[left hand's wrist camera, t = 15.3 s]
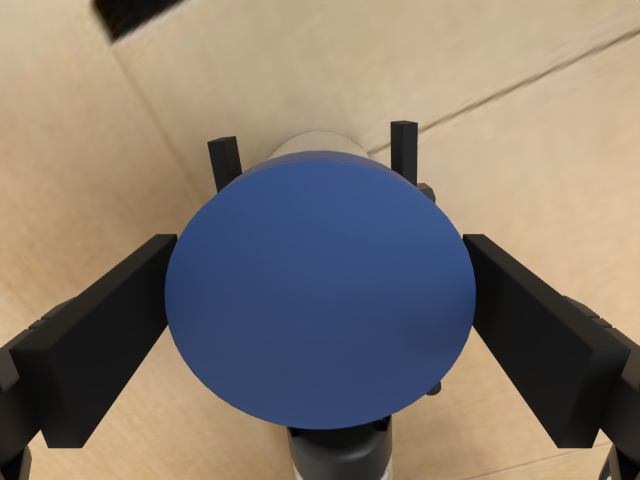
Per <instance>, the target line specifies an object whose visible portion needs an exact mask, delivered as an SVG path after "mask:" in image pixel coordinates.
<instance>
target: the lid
mask: <svg viewBox="0 0 640 480" xmlns="http://www.w3.org/2000/svg"><path fill="white" fill-rule="evenodd" d="M164 295H165V310H166V316H167V320H168V325H169V329H170V332H171V334H172V337H173V340H174V342H175V345H176V347H177V349H178V350H179V352H180V354H181V356H182V358H183V360H184V361H185V362H186V364H187V365H188V366H189V368H190V369H191V371H192V372H193V373H194V374H195V375H196V376H197V378H198V379H199V380H200V381H201V382H202V383H203V384H204V385H205V386H206V387H207V388H209V389H210V390H211V391H212V392H213V393H214V394H216V395H217V396H218V397H220V398H221V399H223V400H224V401H226V402H227V403H229V404H230V405H232V406H233V407H235V408H237V409H239V410H241V411H243V412H245V413H247V414H249V415H252V416H254V417H257V418H259V419H262V420H265V421H268V422H272V423H275V424H279V425H284V426H289V427H295V428H305V429H336V428H345V427H352V426H356V425H361V424H366V423H369V422H372V421H375V420H378V419H382V418H384V417H386V416H389V415H391V414H393V413H396V412H398V411H400V410H402V409H403V408H405V407H407V406H409V405H410V404H412V403H414V402H415V401H416V400H418V399H419V398H421V397H422V396H423V395H425V394H426V393H427V392H429V391H430V390H431V389H432V388H433V387H434V386H435V385H436V384H437V383H438V382H440V380H441V379H442V378H443V377H444V376H445V375H446V373H447V372H448V371H449V370H450V369H451V367H452V366H453V364H454V363H455V361H456V360H457V358H458V357H459V355H460V354H461V351H462V349H463V347H464V345H465V343H466V341H467V339H468V336H469V333H470V330H471V327H472V324H473V318H474V312H475V306H476V285H475V278H474V271H473V267H472V263H471V260H470V257H469V254H468V251H467V249H466V247H465V245H464V242H463V240H462V238H461V236H460V234H459V233H458V231H457V230H456V228H455V227H454V226H453V224H452V223H451V221H450V220H449V218H448V217H447V216H446V215H445V214H444V213H443V212H442V211H441V210H440V209H439V208H438V207H437V205H436V204H435V203H434V202H433V201H431V200H430V199H429V198H428V197H427V196H426V195H424V194H423V193H422V192H421V191H420V190H418V189H417V188H416V187H415V186H414V185H412V184H411V183H410V182H409V181H407V180H406V179H405V178H403V177H402V176H401V175H400V174H398V173H397V172H395V171H393V170H391V169H390V168H388V167H386V166H384V165H383V164H380V163H378V162H375V161H373V160H370V159H368V158H365V157H362V156H358V155H354V154H350V153H346V152H337V151H328V150H321V151H303V152H297V153H290V154H286V155H283V156H279V157H276V158H273V159H269V160H267V161H265V162H263V163H261V164H258V165H256V166H254V167H252V168H250V169H249V170H247V171H246V172H244V173H243V174H241V175H240V176H238V177H237V178H235V179H234V180H233V181H232V182H231V183H229V184H228V185H227V186H226V187H225V188H224V189H222V190H221V191H220V192H219V193H218V194H217V195H215V196H214V197H213V198H212V199H211V200H210V201H208V202H207V203H206V204H205V205H204V206H203V207H202V208H201V209H200V210H199V211H198V212H197V214H196V215H195V216H194V217H193V218H192V219H191V221H190V222H189V223H188V224H187V226H186V228H185V229H184V231H183V233H182V234H181V236H180V237H179V239H178V241H177V243H176V246H175V248H174V250H173V253H172V255H171V258H170V262H169V266H168V270H167V274H166V281H165V293H164Z"/></svg>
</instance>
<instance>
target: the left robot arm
mask: <svg viewBox="0 0 640 480" xmlns="http://www.w3.org/2000/svg"><path fill="white" fill-rule="evenodd" d="M462 240H463V242H464V245H465V247H466V249H467V251H468V254H469V257H470V260H471V263H472V267H473V271H474V278H475V285H476V306H475V312H474V318H473V324H472V325H473V327H474V328H475V330H476V331H477V333H478V334H479V335H480V337H481V338H482V340H483V341H484V343H485V344H486V345H487V347H488V348H489V350H490V351H491V353H492V354H493V355H494V357H495V358H496V360H497V361H498V363H499V364H500V366H501V367H502V368H503V370H504V371H505V373H506V374H507V376H508V377H509V378H510V380H511V381H512V383H513V384H514V386H515V387H516V388H517V390H518V391H519V393H520V394H521V396H522V397H523V399H524V400H525V401H526V403H527V404H528V406H529V407H530V409H531V410H532V411H533V413H534V414H535V416H536V417H537V419H538V420H539V421H540V423H541V424H542V426H543V427H544V429H545V430H546V432H547V433H548V434H549V436H550V437H551V439H552V440H553V442H554V443H555V444H556V446H557V447H558V448H592V446H593V444H594V441H595V439H596V436H597V434H598V431H599V429H601V430H602V431H603V432H604V433H605V434H606V435H607V437H608V438H609V439H610V440H611V441H612V442H613V445H612V447H611V449H610V452H609V454H608V456H607V458H606V461H605V463H604V465H603V468H602V470H601V472H600V475H599V480H607V478H608V477H609V476H611V479H612V480H640V346H639V345H637V344H636V343H635V342H633V341H632V340H631V339H629V338H628V337H627V336H625V335H624V334H623V333H621V332H620V331H619V330H617V329H616V328H612V325H611V324H609V323H608V322H607V321H605V320H604V319H603V318H600V316H599V315H597V314H596V313H595V312H593V311H592V310H591V309H589V308H588V307H587V306H585V305H584V304H581V303H579V302H577V301H575V300H573V299H571V298H569V297H567V296H562V295H561V294H559V293H558V292H557V291H555V290H554V289H553V288H552V287H550V286H549V285H548V284H546V283H545V282H544V281H543V280H541V279H540V278H539V277H538V276H536V275H535V274H534V273H532V272H531V271H530V270H529V269H527V268H526V267H525V266H523V265H522V264H521V263H520V262H518V261H517V260H516V259H514V258H513V257H512V256H511V255H509V254H508V253H507V252H506V251H504V250H503V249H502V248H500V247H499V246H498V245H497V244H495V243H494V242H493V241H491V240H490V239H489V238H488V237H486V236H485V235H484V234H463V239H462ZM177 241H178V239H177V234H156V235H155V236H154V237H152V238H151V239H150V240H149V241H147V242H146V243H145V244H143V245H142V246H141V247H140V248H138V249H137V250H136V251H134V252H133V253H132V254H131V255H129V256H128V257H127V258H126V259H124V260H123V261H122V262H120V263H119V264H118V265H117V266H115V267H114V268H113V269H111V270H110V271H109V272H108V273H106V274H105V275H104V276H102V277H101V278H100V279H99V280H97V281H96V282H95V283H94V284H92V285H91V286H90V287H88V288H87V289H86V290H85V291H83V292H82V293H81V294H79V295H78V296H77V297H74V298H72V299H70V300H68V301H66V302H64V303H62V304H59V305H57V306H55V307H54V308H53V309H51V310H50V311H49V312H48V313H46V314H45V315H44V316H42V317H41V320H37V321H36V322H34V323H33V324H32V325H30V326H29V327H28V329H25V330H24V331H22V332H21V333H20V334H18V335H17V336H16V337H14V338H13V339H12V340H10V341H9V342H8V343H7V344H5V345H4V346H3V347H1V348H0V480H29V473H30V467H31V461H32V457H31V452H30V449H29V447H28V445H27V444H28V443H29V442H30V441H31V440H32V439H33V437H34V436H35V435H36V434H37V433H38V432H39V431H40V429H41V431H42V434H43V436H44V439H45V441H46V444H47V446H48V448H82V447H83V446H84V444H85V443H86V442H87V440H88V439H89V437H90V436H91V434H92V433H93V432H94V430H95V429H96V427H97V426H98V424H99V423H100V421H101V420H102V419H103V417H104V416H105V414H106V413H107V411H108V410H109V409H110V407H111V406H112V404H113V403H114V401H115V400H116V399H117V397H118V396H119V394H120V393H121V391H122V390H123V388H124V387H125V386H126V384H127V383H128V381H129V380H130V378H131V377H132V376H133V374H134V373H135V371H136V370H137V368H138V367H139V366H140V364H141V363H142V361H143V360H144V358H145V357H146V355H147V354H148V353H149V351H150V350H151V348H152V347H153V345H154V344H155V343H156V341H157V340H158V338H159V337H160V335H161V334H162V333H163V331H164V330H165V328H166V327H167V325H168V320H167V316H166V310H165V295H164V293H165V281H166V274H167V270H168V266H169V262H170V258H171V255H172V253H173V250H174V248H175V246H176V243H177Z"/></svg>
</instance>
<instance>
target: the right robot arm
mask: <svg viewBox="0 0 640 480" xmlns="http://www.w3.org/2000/svg"><path fill="white" fill-rule="evenodd" d="M417 139H418V123H416V122H410V121H394V122H391V170H393V171H395V172H397V173H398V174H400V175H401V176H402V177H403V178H405V179H406V180H407V181H409V182H410V183H411V184H412V185H414V186H415V187H416V188H417V189H418V190H420V191H421V192H422V193H423V194H424V195H426V196H427V197H428V198H429V199H430V200H431V201H433V202H434V203H435V195H434V193H433V190H432V188H430V187H429V186H428V185H426V184H425V183H419V184H417ZM207 143H208V148H209V153H210V158H211V163H212V168H213V173H214V178H215V183H216V188H217V193H219V192H220V191H221V190H222V189H224V188H225V187H226V186H227V185H228V184H229V183H231V182H232V181H233V180H234V179H235V178H237V177H238V176H240V175H241V174H242V170H241V164H240V158H239V152H238V146H237V140H236V136H233V137H222V138H219V139H216V140H213V141H210V142H207ZM440 390H441V382H438V383H437V384H436V385H435V386H434V387H433V388H432V389H431V390H430V391H429V392H427V393H426V395H436V394H437V393H439V392H440ZM286 428H287V434H288V440H289V445H290V451H291V456H292V463H293V469H294V475H295V480H393V459H392V414H391V415H389V416H386V417H384V418H382V419H378V420H375V421H372V422H369V423H366V424H361V425H356V426H352V427H345V428H336V429H305V428H295V427H289V426H286Z"/></svg>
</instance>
